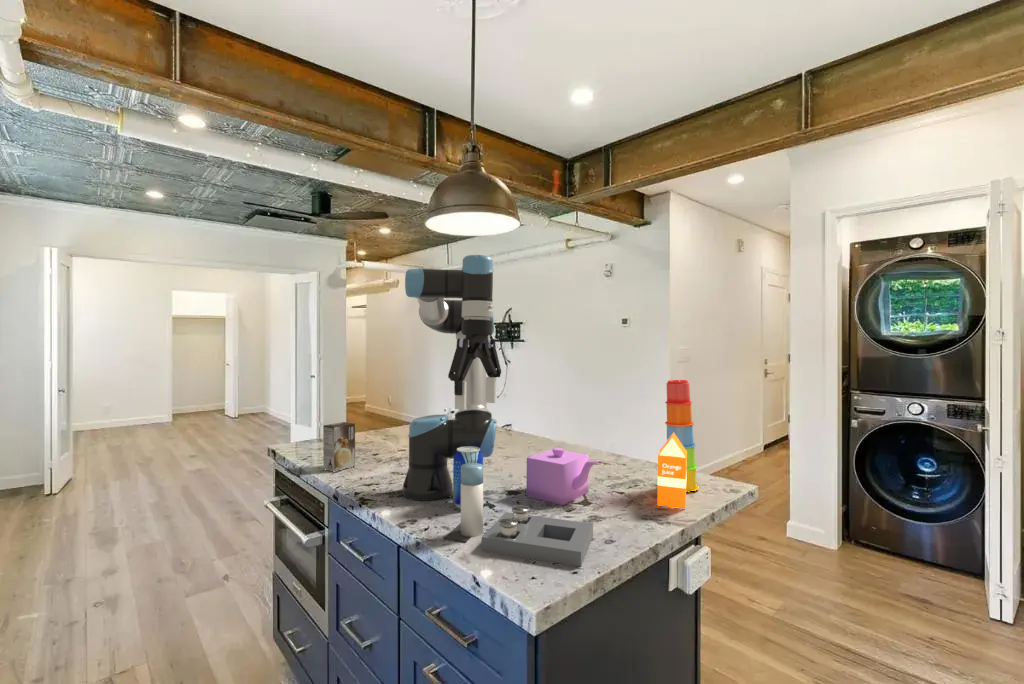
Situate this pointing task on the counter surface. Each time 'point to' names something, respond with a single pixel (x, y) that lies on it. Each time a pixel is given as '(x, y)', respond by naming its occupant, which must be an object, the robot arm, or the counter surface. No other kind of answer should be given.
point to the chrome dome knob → (508, 528)
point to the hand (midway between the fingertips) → (476, 405)
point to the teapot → (558, 475)
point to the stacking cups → (682, 425)
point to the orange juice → (672, 474)
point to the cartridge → (471, 499)
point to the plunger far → (520, 513)
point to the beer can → (460, 458)
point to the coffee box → (339, 446)
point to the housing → (542, 540)
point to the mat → (457, 535)
